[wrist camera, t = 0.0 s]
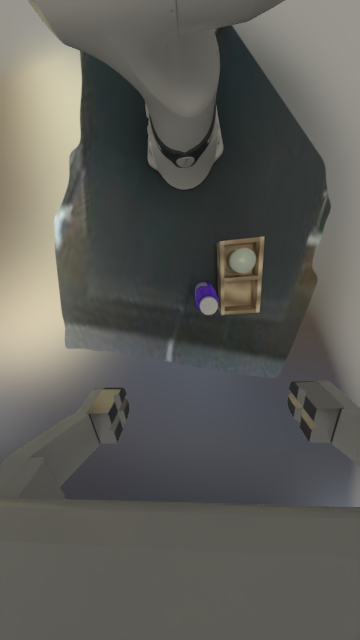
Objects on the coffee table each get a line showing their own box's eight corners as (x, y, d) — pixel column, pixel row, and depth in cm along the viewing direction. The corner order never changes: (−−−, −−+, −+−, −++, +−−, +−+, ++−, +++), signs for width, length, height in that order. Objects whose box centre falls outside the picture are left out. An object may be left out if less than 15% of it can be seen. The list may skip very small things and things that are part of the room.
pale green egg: (226, 250, 49) (231, 249, 43) (247, 248, 49) (256, 246, 42) (226, 272, 51) (231, 274, 45) (246, 270, 51) (255, 271, 44)
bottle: (193, 281, 54) (194, 292, 38) (211, 279, 53) (220, 289, 37) (195, 304, 56) (197, 323, 40) (213, 302, 56) (222, 320, 39)
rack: (216, 243, 50) (220, 241, 44) (255, 238, 49) (264, 236, 43) (218, 309, 56) (221, 315, 51) (252, 306, 55) (259, 312, 50)
